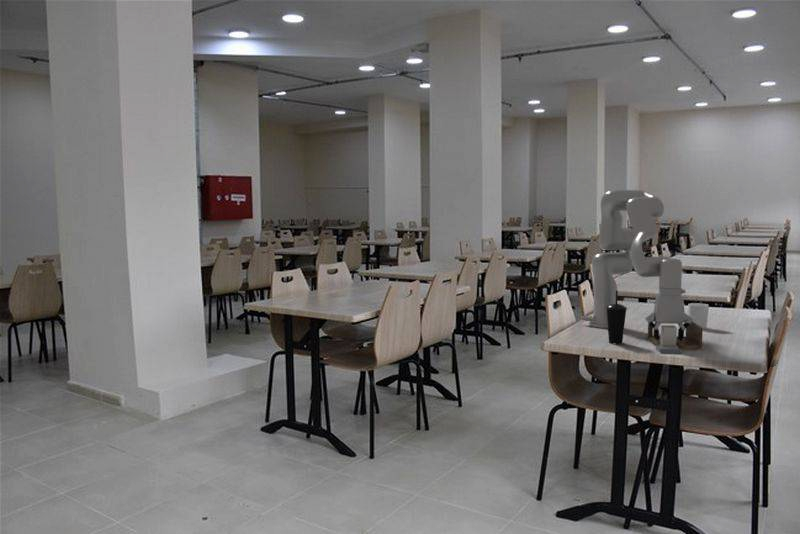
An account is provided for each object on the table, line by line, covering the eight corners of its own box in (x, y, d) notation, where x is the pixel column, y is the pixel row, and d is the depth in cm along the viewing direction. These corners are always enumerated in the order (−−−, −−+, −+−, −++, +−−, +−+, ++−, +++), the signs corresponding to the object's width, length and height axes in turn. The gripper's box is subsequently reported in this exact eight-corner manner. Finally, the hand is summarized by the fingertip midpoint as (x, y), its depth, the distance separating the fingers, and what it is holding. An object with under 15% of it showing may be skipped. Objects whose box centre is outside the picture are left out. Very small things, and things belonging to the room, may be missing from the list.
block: (663, 347, 242) (663, 327, 242) (660, 345, 247) (660, 325, 246) (676, 348, 242) (676, 327, 241) (673, 345, 246) (673, 325, 246)
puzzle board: (658, 348, 241) (658, 326, 240) (647, 338, 258) (648, 318, 258) (701, 349, 238) (702, 327, 238) (688, 339, 256) (688, 319, 255)
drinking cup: (609, 339, 257) (610, 288, 255) (629, 342, 252) (630, 290, 250) (601, 343, 251) (602, 290, 249) (621, 345, 246) (622, 292, 244)
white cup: (710, 330, 275) (710, 306, 274) (689, 329, 277) (690, 305, 276) (705, 326, 283) (706, 303, 282) (685, 326, 285) (686, 302, 284)
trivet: (659, 352, 234) (659, 348, 234) (655, 349, 240) (656, 345, 240) (680, 353, 233) (680, 349, 233) (676, 349, 239) (676, 345, 239)
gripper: (692, 291, 245) (690, 338, 246) (642, 290, 247) (641, 337, 249) (698, 294, 237) (696, 342, 239) (647, 293, 240) (645, 341, 242)
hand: (668, 339), depth 244 cm, fingers open, 7 cm apart
